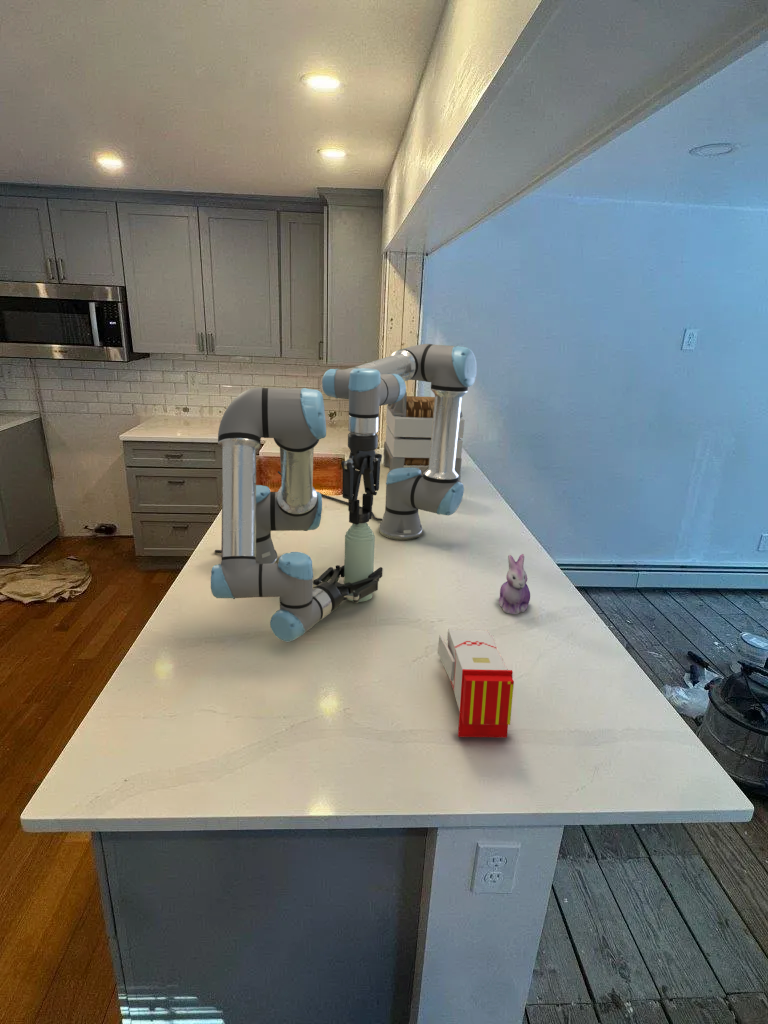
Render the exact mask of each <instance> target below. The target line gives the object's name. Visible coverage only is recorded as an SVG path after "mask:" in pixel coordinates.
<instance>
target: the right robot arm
mask: <svg viewBox="0 0 768 1024" xmlns="http://www.w3.org/2000/svg"><path fill="white" fill-rule="evenodd" d="M477 368H478V367H477V359H476V356H475V354H474V352H473V350H472V349H471V348H469V347H466V346H461V345H446V344H432V343H421V344H420V343H419V344H416V345H411V346H408V347H405V348H400V349H397V350H395V351H394V352H393V353H392V354H391V355H389V356H386V357H383V358H380V359H376V360H373V361H370V362H367V363H363V364H361V365H356V366H353V367H349V368H345V369H340V368H330V369H327V370H326V371H325V372H324V374H323V376H322V379H321V387H322V391H323V393H324V394H325V395H326V396H327V397H330V398H331V397H332V398H335V399H342V400H348V423H347V424H348V426H347V427H348V433H347V447H348V449H349V450H350V451H349V455H348V459H347V460H341V462H340V463H341V469H342V498H343V499H345V500H347V501H345V500H342V499H339V498H336V497H333V496H330V495H327V494H323V493H321V492H319V493H320V494H321V496H322V498H326V499H329V500H332V501H336V502H338V503H341V504H344V505H347V507H348V508H347V509H348V523H351V524H356V525H357V524H359V509H366V510H369V513H370V517H369V520H372V519H373V520H374V521H378V522H379V525H378V533H379V534H380V535H381V536H382V537H385V538H387V539H389V540H395V541H410V540H415V539H418V538H420V537H421V536H422V535H423V525H422V524H421V518H420V515H419V510H420V511H425V512H429V513H433V514H436V515H442V516H452V515H453V514H454V513H456V511H457V510H458V508H459V507H460V505H461V502H462V500H463V496H464V493H465V492H464V491H465V487H464V483H462V482H461V481H460V482H458V477H459V475H458V474H457V473H456V471H455V461H456V451H457V441H458V432H459V422H460V412H462V403H463V402H462V401H463V396H464V395H466V394H467V393H468V389H469V388H471V387H472V386H474V384H475V382H476V378H477V373H478V372H477V371H478V369H477ZM407 381H419V382H427V383H430V390H431V391H432V393H433V394H434V397H435V400H434V412H433V423H432V435H431V446H430V457H429V465H428V468H427V469H426V470H424V471H423V474H422V470H421V468H419V467H413V466H411V467H409V466H406V467H404V468H397V469H393V470H391V471H390V470H389V471H388V473H387V475H386V480H385V504H384V505H385V507H384V508H385V509H384V513H383V515H382V517H381V518H380V517H376V516H375V514H374V512H373V505H374V496H377V495H378V491H379V490H380V479H381V477H380V476H381V473H380V472H381V463H382V458H383V455H382V453H377V452H376V450H377V449H378V447H379V435H378V432H379V431H380V430H379V426H380V424H379V423H380V407H381V406H387V405H388V404H393V403H395V402H398V401H400V400H401V399H402V398H403V397H404V395H405V392H406V393H407V385H406V382H407ZM277 474H278V475H279V476H281V471H280V470H277ZM362 478H363V479H362ZM361 481H363V488H364V493H362V499H361V500H362V504H361V505H362V506H360V502H361V501H360V499H358V497H359V491H360V485H361Z"/></svg>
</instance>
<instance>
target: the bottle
mask: <svg viewBox="0 0 768 1024" xmlns="http://www.w3.org/2000/svg"><path fill="white" fill-rule="evenodd" d="M375 538H376V536H375V533H374V531H373V529H372V528H371V526H370V525H369V523H368V522H367V523H359V524H357V525H356V524H353V523H351V525H350V527H349V528H348V530H346V532H345V535H344V563H343V565H344V577H343V584H345V583H348V582H350V583H354V582H357V581H360V580H364V579H367V578H368V576H369V575H370V574H371V573H373V572H374V569H375V568H374V567H375V566H374V565H375V541H376V539H375ZM373 593H374V592H373ZM373 593H371V594H369V595H367V596H365V597H364V598H362V599H360V600H359V601H358V602H357V603H363V602H367V601H369V600H371V599H373V598H372V597H373ZM347 600H348V601H350V602H353V599H347Z"/></svg>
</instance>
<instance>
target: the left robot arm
mask: <svg viewBox="0 0 768 1024" xmlns="http://www.w3.org/2000/svg"><path fill="white" fill-rule="evenodd" d="M326 421H327V420H326V411H325V402H324V396H323V394H322V391H320V390H318V389H313V388H306V387H302V388H300V387H299V388H292V387H291V388H290V387H289V388H287V387H284V388H283V387H277V388H276V387H260V386H259V387H252V388H249V389H247V390H244V391H243V392H241V393H240V394H238V395H237V396H236V397H235V398H234V399H233V400H232V401H231V402H230V404H229V405H228V406H227V408H226V409H225V411H224V412H223V415H222V418H221V420H220V422H219V427H218V432H217V446H218V447H219V448H220V449H221V451H222V455H221V456H222V457H221V459H222V460H221V462H222V463H221V464H222V465H221V467H222V468H221V544H220V545H221V549H215V550H214V553H215V554H220V555H221V556H220V558H221V560H220V563H219V564H214V565H213V566H212V568H211V571H210V590H211V594H212V596H213V597H214V598H216V599H233V600H236V599H250V598H252V599H253V598H279V609H278V610H276V611H275V613H273V614H272V616H271V618H270V621H269V625H270V630H271V631H272V633H273V634H274V636H275V637H276V638H277V639H278V640H280V641H283V642H286V643H290V642H293V641H295V640H296V639H298V638H299V637H303V635H305V633H307V632H308V630H311V628H313V627H314V626H315V625H316V624H318V623H319V622H320V621H322V620H324V618H326V617H327V616H328V615H330V614H331V613H333V612H334V611H335V610H337V609H338V608H339V607H340V606H341V604H342V602H345V601H347V600H348V599H353V601H352V602H353V603H354V604H357V603H359V602H358V601H359V600H360V599H362V598H364V597H365V596H367V595H369V594H371V593H375V592H377V591H378V590H379V582H380V579H381V578H382V577H383V572H384V571H383V570H384V569H383V567H381V566H380V567H378V568H377V569H375V570H373V573H371V574H370V575H369V576H368V578H367V579H364V580H360V581H357V582H354V583H350V582H348V583H345V584H344V583H341V582H339V580H340V578H344V564H343V565H341V566H340V565H338V564H337V565H335V568H334V567H332V566H330V567H328V568H327V569H326V570H325V571H324V572H323V573H322V574H321V575H319V577H317V578H315V579H314V573H313V572H314V569H313V560H312V558H311V556H310V555H308V554H307V553H306V552H302V551H290V552H284V553H283V554H281V555H280V556H279V557H278V552H277V550H276V549H275V545H274V542H273V540H272V532H286V531H291V532H292V531H293V532H295V531H296V532H297V531H299V532H300V531H301V532H308V531H316V530H317V529H318V528H319V527H320V524H321V520H322V512H323V496H321V494H322V493H321V492H319V491H317V490H316V489H315V487H314V486H313V483H314V481H313V480H314V450H315V447H316V446H317V445H318V444H319V442H320V440H322V439H326V437H327V422H326ZM262 438H264V439H273V441H274V443H275V445H276V446H278V448H279V461H280V463H279V464H280V472H281V475H280V481H281V483H280V484H281V486H280V487H279V489H278V490H277V491H271V489H270V487H269V486H267V485H261V484H257V452H258V451H257V450H259V449H260V448H261V446H262V443H261V441H262ZM320 493H321V494H320Z"/></svg>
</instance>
